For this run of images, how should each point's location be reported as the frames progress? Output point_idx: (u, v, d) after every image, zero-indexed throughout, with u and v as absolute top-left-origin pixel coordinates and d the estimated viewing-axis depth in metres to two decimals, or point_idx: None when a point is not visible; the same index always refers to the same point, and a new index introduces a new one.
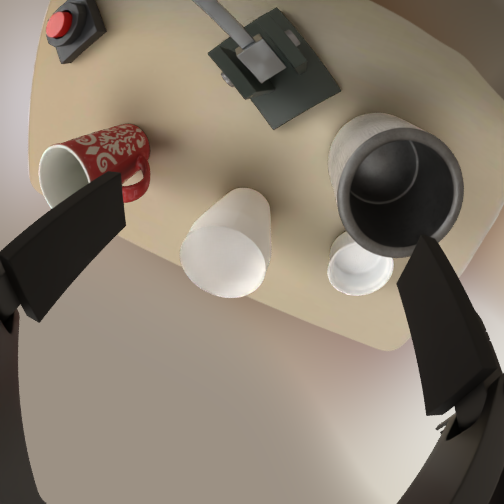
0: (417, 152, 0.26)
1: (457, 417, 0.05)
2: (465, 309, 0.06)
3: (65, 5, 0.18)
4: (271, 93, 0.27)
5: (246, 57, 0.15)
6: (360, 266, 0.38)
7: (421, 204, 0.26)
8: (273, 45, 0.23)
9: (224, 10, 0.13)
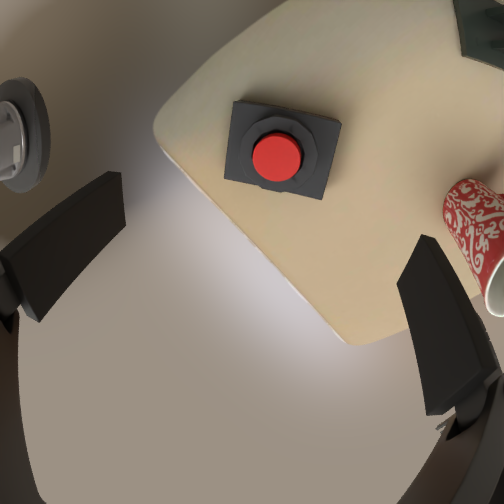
0: None
1: (457, 417, 0.05)
2: (465, 309, 0.06)
3: (251, 131, 0.23)
4: None
5: None
6: None
7: None
8: (487, 18, 0.11)
9: None
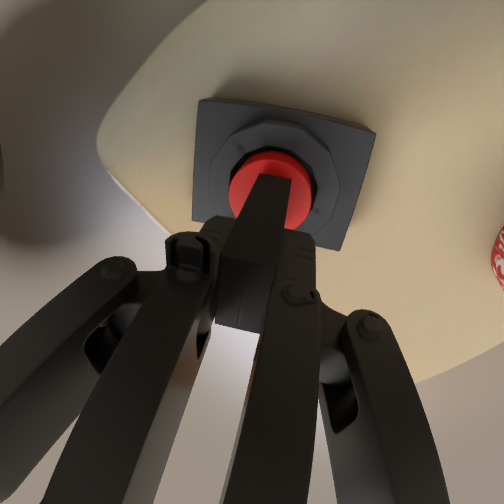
0: None
1: (258, 343, 0.07)
2: (269, 221, 0.09)
3: (226, 150, 0.14)
4: None
5: None
6: None
7: None
8: None
9: None
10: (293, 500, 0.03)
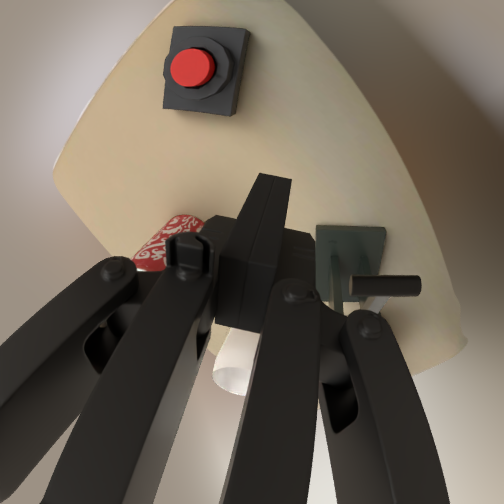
0: None
1: (258, 343, 0.07)
2: (269, 221, 0.09)
3: (214, 44, 0.21)
4: None
5: None
6: None
7: None
8: (359, 256, 0.35)
9: None
10: (293, 500, 0.03)
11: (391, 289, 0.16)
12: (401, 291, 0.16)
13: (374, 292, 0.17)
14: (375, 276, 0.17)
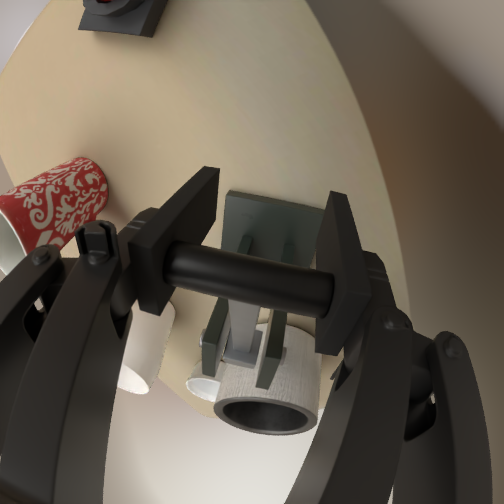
0: None
1: (343, 363, 0.07)
2: (347, 244, 0.08)
3: None
4: None
5: (229, 360, 0.18)
6: None
7: None
8: (282, 243, 0.26)
9: (250, 344, 0.15)
10: None
11: (253, 289, 0.08)
12: (278, 299, 0.08)
13: (211, 288, 0.08)
14: (223, 252, 0.08)
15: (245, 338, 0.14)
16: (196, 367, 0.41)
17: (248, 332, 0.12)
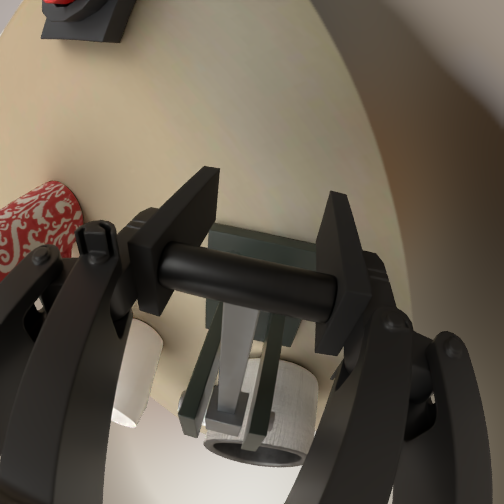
0: None
1: (343, 363, 0.07)
2: (347, 244, 0.08)
3: None
4: None
5: (211, 422, 0.14)
6: None
7: None
8: None
9: (237, 396, 0.12)
10: None
11: (253, 283, 0.07)
12: (281, 294, 0.07)
13: (209, 282, 0.07)
14: (222, 251, 0.08)
15: (233, 385, 0.12)
16: None
17: (238, 372, 0.11)
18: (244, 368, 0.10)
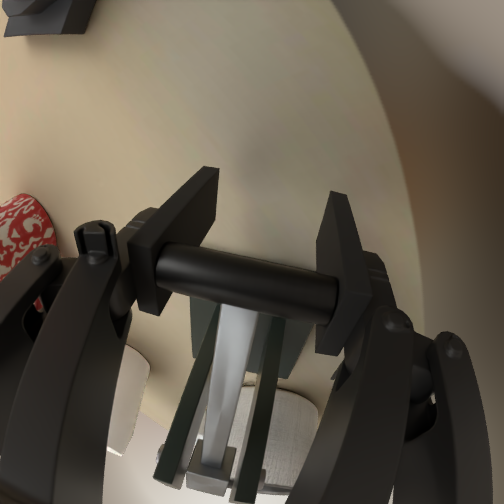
0: None
1: (344, 363, 0.07)
2: (347, 244, 0.08)
3: None
4: None
5: (194, 477, 0.10)
6: None
7: None
8: (269, 316, 0.19)
9: (225, 441, 0.10)
10: None
11: (255, 276, 0.07)
12: (282, 288, 0.07)
13: (208, 275, 0.07)
14: (222, 253, 0.08)
15: (222, 425, 0.09)
16: None
17: (229, 404, 0.09)
18: (236, 398, 0.09)
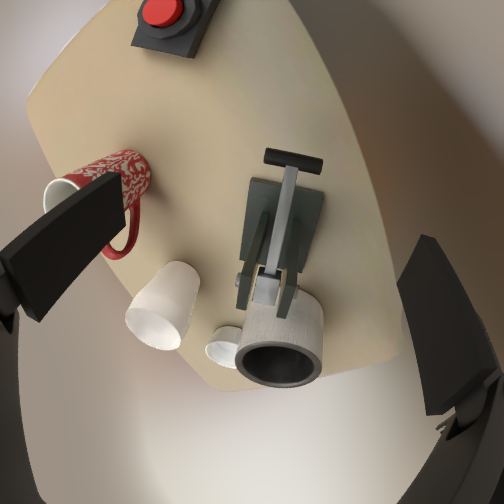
0: None
1: (457, 417, 0.05)
2: (465, 309, 0.06)
3: None
4: None
5: (260, 281, 0.26)
6: (229, 346, 0.53)
7: (289, 357, 0.43)
8: (292, 217, 0.34)
9: (281, 244, 0.25)
10: None
11: (297, 155, 0.23)
12: (305, 159, 0.23)
13: (283, 155, 0.23)
14: None
15: (281, 229, 0.25)
16: (215, 333, 0.50)
17: (285, 213, 0.24)
18: (289, 209, 0.24)
